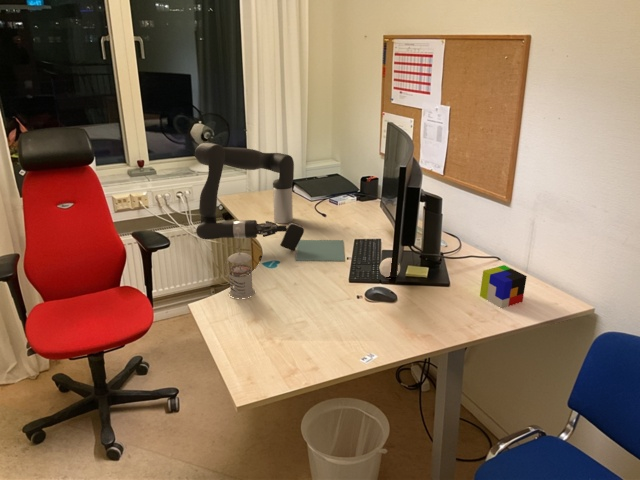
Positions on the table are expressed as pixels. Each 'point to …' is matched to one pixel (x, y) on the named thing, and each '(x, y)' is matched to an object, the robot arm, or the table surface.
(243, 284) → the french press
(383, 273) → the geometric ball
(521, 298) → the puzzle toy
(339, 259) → the mat
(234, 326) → the table surface
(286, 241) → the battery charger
